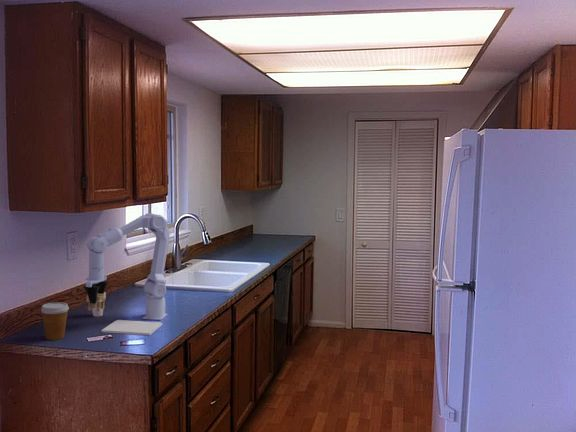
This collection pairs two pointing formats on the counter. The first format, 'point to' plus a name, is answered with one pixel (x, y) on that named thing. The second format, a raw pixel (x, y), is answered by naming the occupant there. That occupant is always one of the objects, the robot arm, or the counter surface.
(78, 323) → the counter surface
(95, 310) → the smoothie
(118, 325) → the cutting board
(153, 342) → the counter surface
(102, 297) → the stool
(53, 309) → the disposable coffee cup
